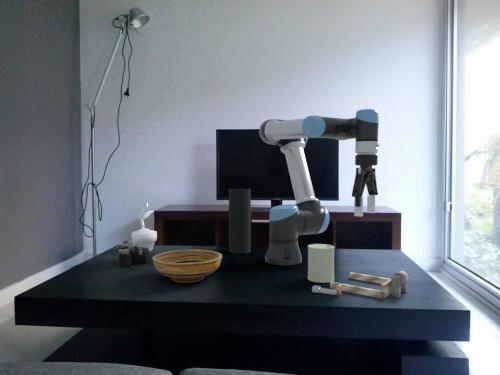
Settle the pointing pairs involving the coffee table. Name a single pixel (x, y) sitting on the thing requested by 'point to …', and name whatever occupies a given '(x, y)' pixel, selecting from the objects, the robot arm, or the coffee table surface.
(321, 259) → the can
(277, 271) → the coffee table surface
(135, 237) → the potted plant
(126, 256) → the camera
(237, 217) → the vase
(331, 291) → the crank handle
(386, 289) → the wooden frame
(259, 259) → the coffee table surface
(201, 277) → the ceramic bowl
